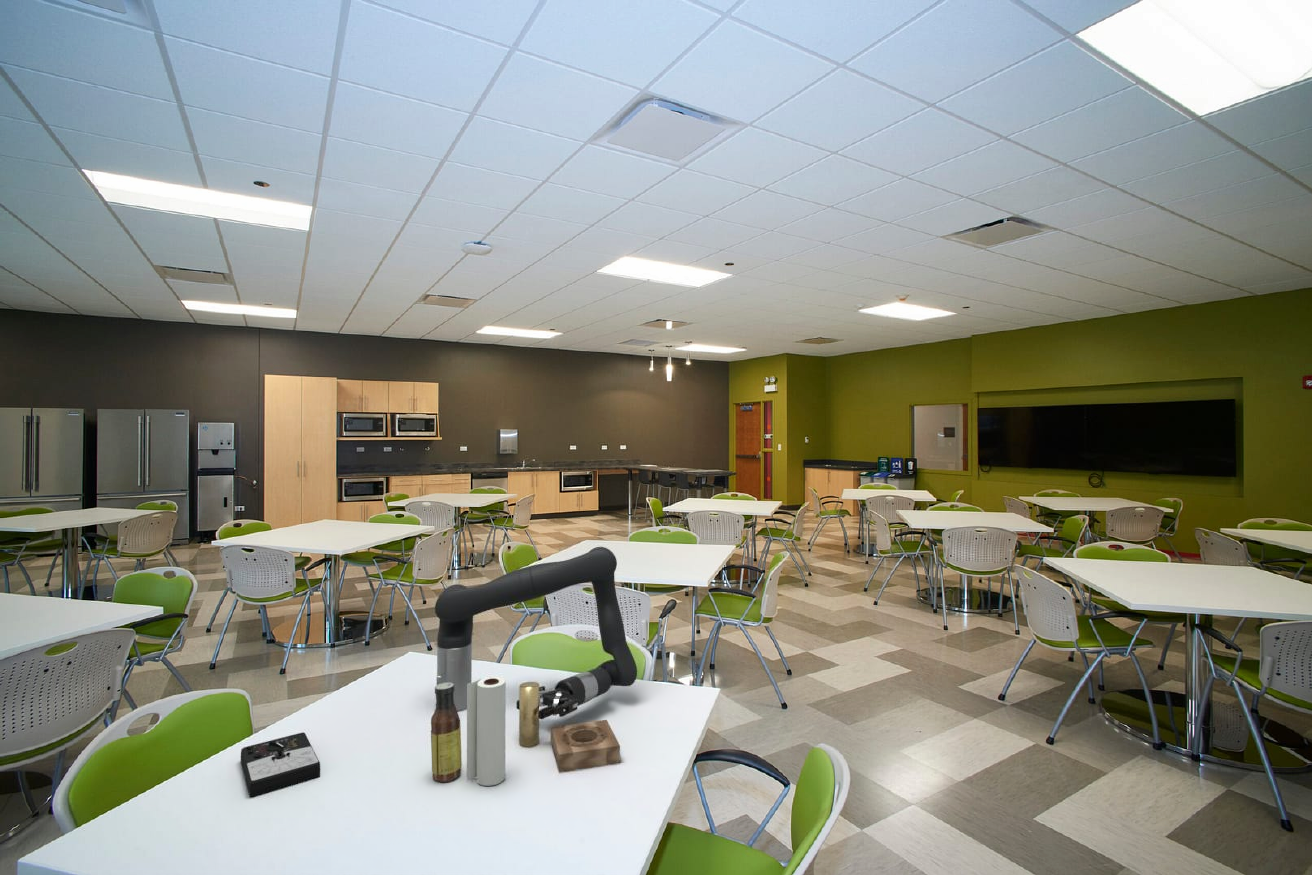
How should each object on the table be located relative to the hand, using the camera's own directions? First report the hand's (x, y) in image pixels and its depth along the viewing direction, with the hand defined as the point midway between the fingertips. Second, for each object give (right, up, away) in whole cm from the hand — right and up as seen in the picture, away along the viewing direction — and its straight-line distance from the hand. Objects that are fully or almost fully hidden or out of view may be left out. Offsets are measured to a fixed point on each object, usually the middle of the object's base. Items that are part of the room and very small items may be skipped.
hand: (528, 710), depth 151 cm
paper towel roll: (-5, -8, -16) cm, 19 cm away
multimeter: (-53, -9, -12) cm, 56 cm away
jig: (+14, -8, -5) cm, 17 cm away
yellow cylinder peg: (0, -8, 0) cm, 8 cm away
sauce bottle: (-15, -8, -15) cm, 23 cm away
